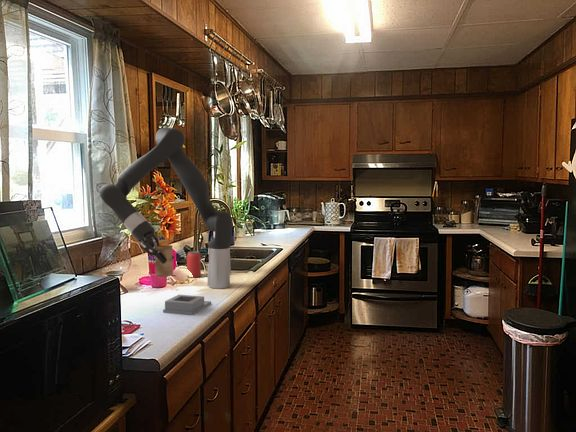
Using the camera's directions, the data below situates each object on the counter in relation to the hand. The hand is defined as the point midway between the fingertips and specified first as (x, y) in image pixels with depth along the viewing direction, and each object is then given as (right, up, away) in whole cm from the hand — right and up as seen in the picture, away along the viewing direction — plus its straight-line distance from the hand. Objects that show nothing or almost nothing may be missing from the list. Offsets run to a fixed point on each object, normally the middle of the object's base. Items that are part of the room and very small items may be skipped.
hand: (168, 260), depth 189 cm
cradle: (+7, -18, +2) cm, 19 cm away
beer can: (-1, -13, +58) cm, 59 cm away
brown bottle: (-2, -6, +1) cm, 6 cm away
